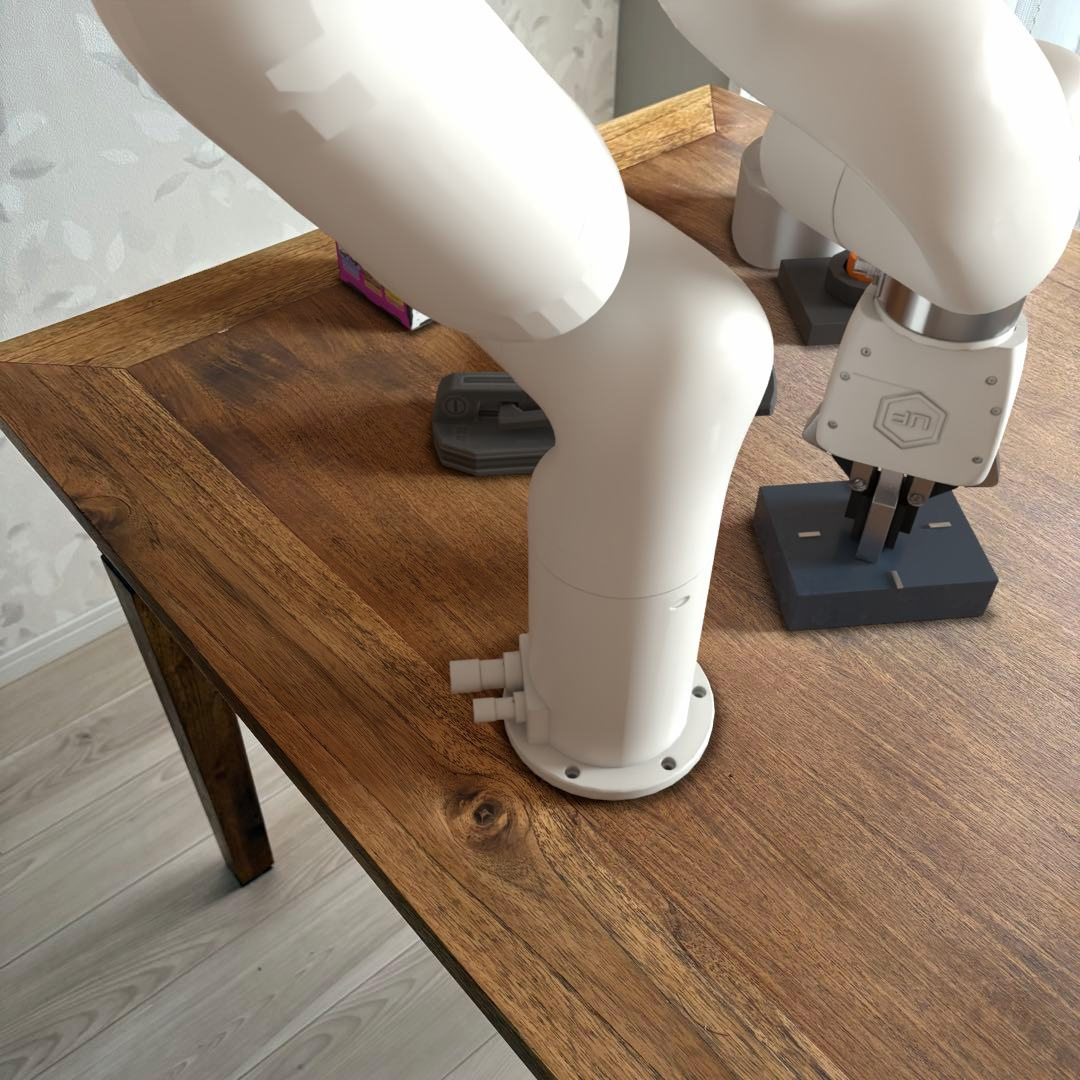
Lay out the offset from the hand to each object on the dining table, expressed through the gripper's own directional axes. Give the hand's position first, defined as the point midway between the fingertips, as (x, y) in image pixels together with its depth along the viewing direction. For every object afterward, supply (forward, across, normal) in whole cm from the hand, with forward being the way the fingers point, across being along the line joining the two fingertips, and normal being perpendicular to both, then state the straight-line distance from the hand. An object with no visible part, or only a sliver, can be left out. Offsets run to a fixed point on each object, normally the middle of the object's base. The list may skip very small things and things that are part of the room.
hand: (875, 528), depth 73 cm
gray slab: (0, 0, 0) cm, 0 cm away
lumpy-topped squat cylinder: (+4, -15, +41) cm, 44 cm away
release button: (0, -6, +31) cm, 31 cm away
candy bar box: (+4, -44, +17) cm, 48 cm away
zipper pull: (+4, -21, +6) cm, 22 cm away
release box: (+4, -6, +31) cm, 32 cm away
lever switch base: (+4, 0, 0) cm, 4 cm away
